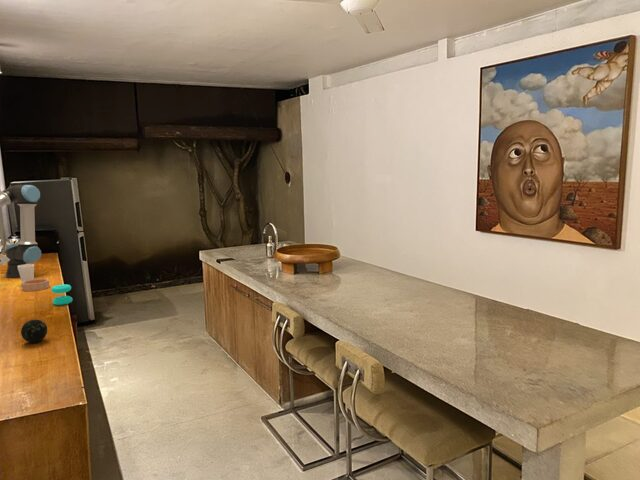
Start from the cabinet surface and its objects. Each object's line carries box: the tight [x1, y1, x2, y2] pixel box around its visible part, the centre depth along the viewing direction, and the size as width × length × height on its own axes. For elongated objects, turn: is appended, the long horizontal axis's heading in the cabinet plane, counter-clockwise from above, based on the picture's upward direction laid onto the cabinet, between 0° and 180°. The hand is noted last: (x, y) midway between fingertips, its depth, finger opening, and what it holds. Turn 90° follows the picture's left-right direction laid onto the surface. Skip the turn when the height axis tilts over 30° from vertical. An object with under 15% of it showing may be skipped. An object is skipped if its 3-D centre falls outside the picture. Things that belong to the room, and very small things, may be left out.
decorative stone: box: [20, 319, 48, 344], centre depth 216 cm, size 10×10×10 cm
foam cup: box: [18, 263, 35, 283], centre depth 323 cm, size 10×9×13 cm
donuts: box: [50, 283, 74, 306], centre depth 277 cm, size 10×10×10 cm
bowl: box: [21, 278, 50, 292], centre depth 314 cm, size 15×15×4 cm
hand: (7, 262), depth 318 cm, fingers open, 13 cm apart
